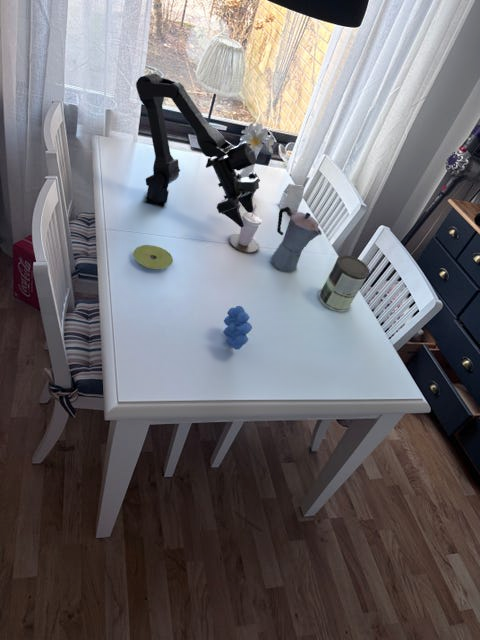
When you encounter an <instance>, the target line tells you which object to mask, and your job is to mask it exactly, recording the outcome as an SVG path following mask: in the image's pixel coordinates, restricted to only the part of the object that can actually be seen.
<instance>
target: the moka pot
mask: <svg viewBox="0 0 480 640" xmlns="http://www.w3.org/2000/svg"><path fill="white" fill-rule="evenodd" d="M283 213H286V215H287V216H288V217H289V218H290V219H289V221H288V223H287V227H286V229H285V230H286V231H285V233H284V232H283V231H282V221H283ZM311 215H312V214H311V213H309V212H306V213H304V212H302V211H301V212H299V211H298V212H296V211H293V210H291V209H290V208H289V207H285V208H283V209H281V208H280V209H279V212H278V221H277V227H276V228H277V229H276V233H278V234H279V235H280V236H283V239H282V240H281V242H280V244H279V245H278V247H277V248H276V250H275V251H274V252H273V254H272V255H271V257H270V261H271V263H272V265H273V267H275V268H277V269H278V270H280V271H281V272H285V273H292V272H294V271H296V268H297V266H298V263H299V261H300V258H301V255H302V252H303V250H304V249H305V248H306V247H307V246H308V244H309V243H310V242H311V241H312V240H313V239H315V238H316V237H318V236H322V231H321V229H320V228H319V225H320V223H318V221H317V220H316V219H315V218H314V217H313V216H311Z"/></svg>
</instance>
